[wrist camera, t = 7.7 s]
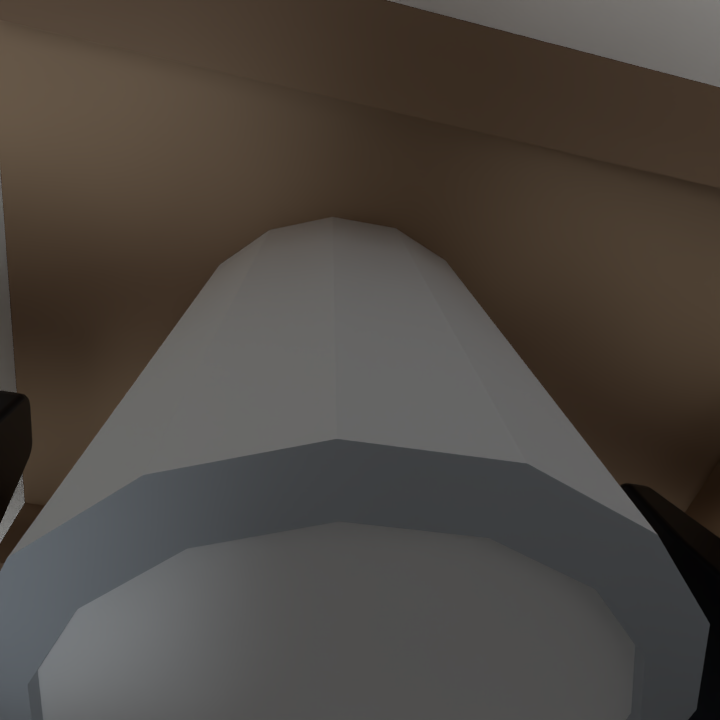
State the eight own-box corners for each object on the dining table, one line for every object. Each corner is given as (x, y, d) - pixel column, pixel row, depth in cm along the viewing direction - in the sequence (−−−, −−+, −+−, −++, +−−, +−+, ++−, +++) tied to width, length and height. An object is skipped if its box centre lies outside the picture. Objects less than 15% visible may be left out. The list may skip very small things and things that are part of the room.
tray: (642, 576, 17) (693, 670, 15) (48, 503, 15) (-6, 601, 12) (927, 145, 11) (1090, 184, 9) (21, -91, 9) (-93, -126, 6)
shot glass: (582, 265, 11) (897, 589, 5) (419, 524, 14) (488, 918, 8) (209, 112, 9) (-9, 308, 3) (119, 443, 12) (-78, 856, 6)
